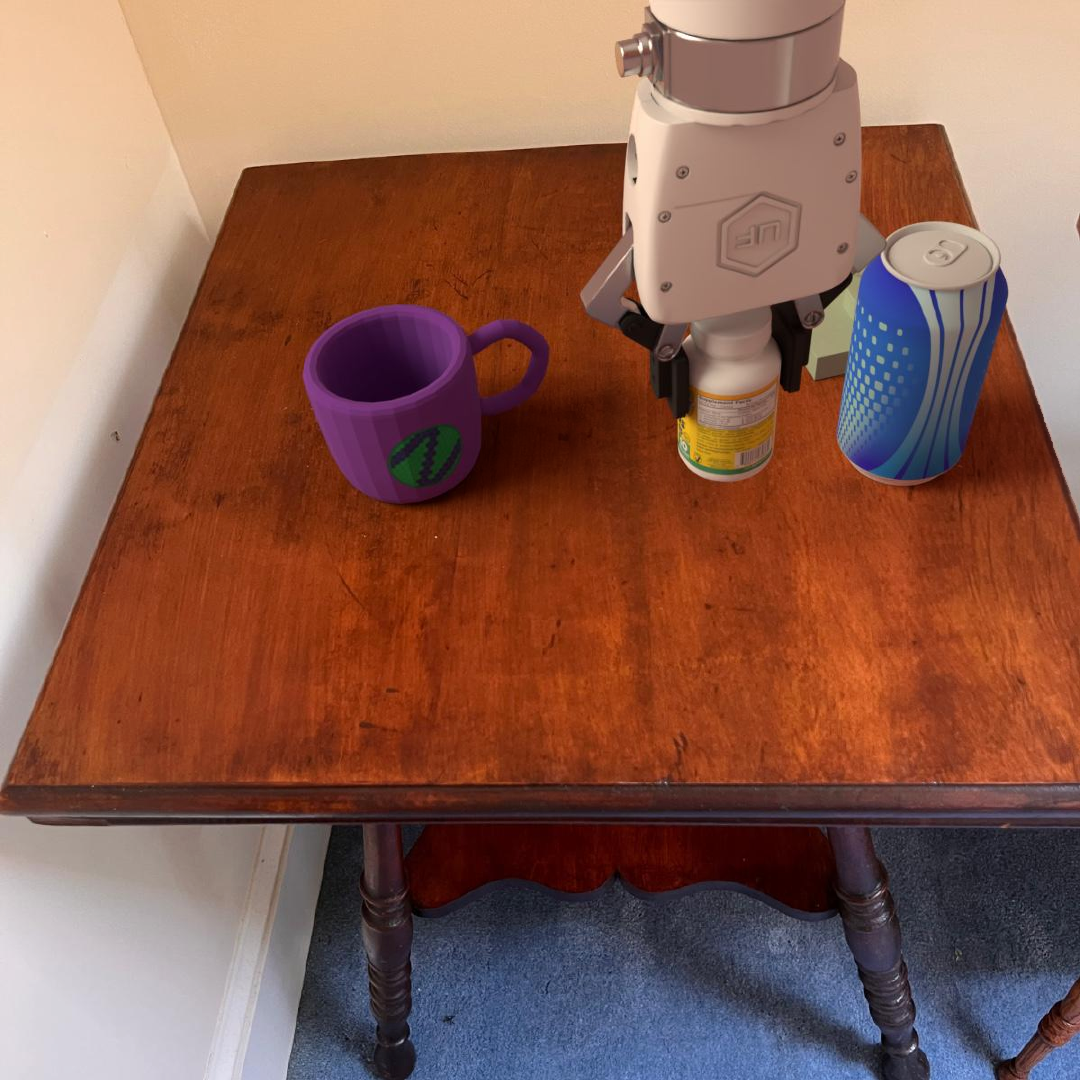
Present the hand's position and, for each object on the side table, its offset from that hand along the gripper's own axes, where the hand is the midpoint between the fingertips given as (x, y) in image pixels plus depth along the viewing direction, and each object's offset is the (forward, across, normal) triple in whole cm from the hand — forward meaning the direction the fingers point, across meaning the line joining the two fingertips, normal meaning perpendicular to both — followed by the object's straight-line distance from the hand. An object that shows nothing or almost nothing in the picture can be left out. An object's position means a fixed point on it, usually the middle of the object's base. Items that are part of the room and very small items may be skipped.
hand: (728, 386), depth 55 cm
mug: (+16, -15, +17) cm, 28 cm away
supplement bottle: (+5, 0, 0) cm, 5 cm away
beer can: (+16, +15, +6) cm, 23 cm away
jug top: (+15, +18, +19) cm, 30 cm away
